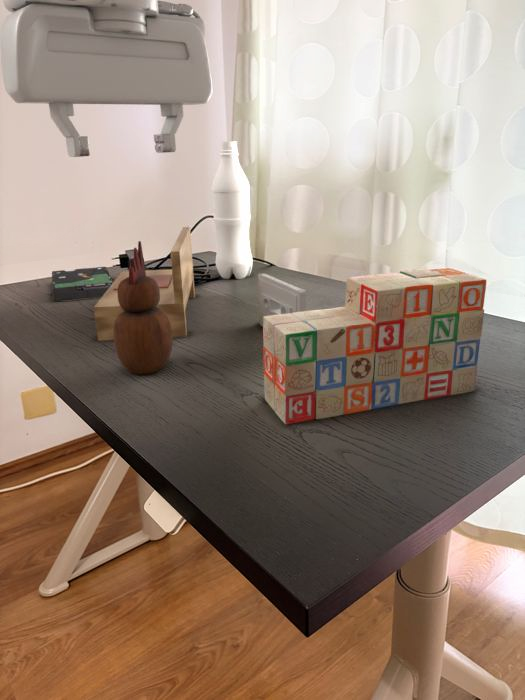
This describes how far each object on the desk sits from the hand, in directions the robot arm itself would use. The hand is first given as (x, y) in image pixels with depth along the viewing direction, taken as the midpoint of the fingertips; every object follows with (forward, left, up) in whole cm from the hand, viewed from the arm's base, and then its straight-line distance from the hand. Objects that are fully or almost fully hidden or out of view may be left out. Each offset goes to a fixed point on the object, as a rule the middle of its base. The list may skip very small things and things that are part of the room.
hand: (124, 154), depth 58 cm
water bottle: (+10, +51, -25) cm, 57 cm away
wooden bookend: (-3, +26, -24) cm, 36 cm away
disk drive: (-18, +45, -25) cm, 54 cm away
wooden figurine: (-1, +4, -25) cm, 25 cm away
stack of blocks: (+24, -7, -25) cm, 35 cm away
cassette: (+16, +14, -25) cm, 33 cm away
